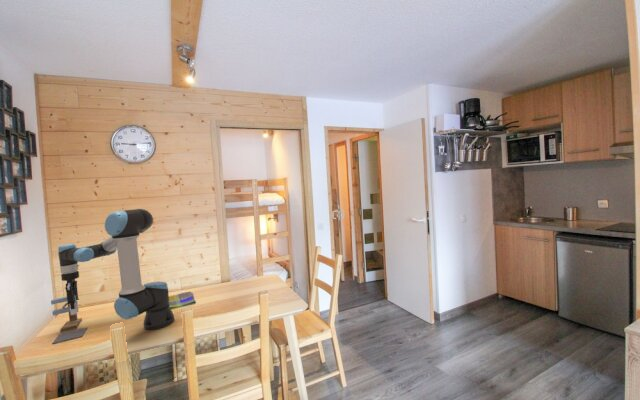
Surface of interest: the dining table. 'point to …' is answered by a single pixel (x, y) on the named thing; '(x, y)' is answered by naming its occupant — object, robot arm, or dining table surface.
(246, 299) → the dining table surface
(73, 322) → the stand
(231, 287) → the dining table surface
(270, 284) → the dining table surface
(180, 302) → the green and purple book
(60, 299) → the c link
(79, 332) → the mat
